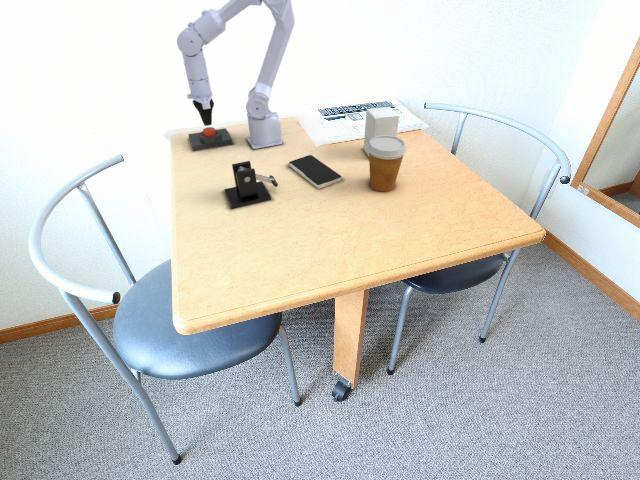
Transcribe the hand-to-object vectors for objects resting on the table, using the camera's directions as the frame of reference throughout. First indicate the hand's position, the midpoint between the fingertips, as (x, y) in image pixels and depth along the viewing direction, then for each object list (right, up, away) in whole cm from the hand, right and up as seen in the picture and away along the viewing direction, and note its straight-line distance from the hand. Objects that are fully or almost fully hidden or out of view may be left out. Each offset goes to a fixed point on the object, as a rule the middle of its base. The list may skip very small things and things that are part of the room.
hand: (207, 124), depth 111 cm
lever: (+18, -20, -20) cm, 34 cm away
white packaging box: (+52, -9, -1) cm, 52 cm away
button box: (-1, -4, +6) cm, 7 cm away
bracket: (+16, -24, -18) cm, 34 cm away
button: (0, -2, +2) cm, 3 cm away
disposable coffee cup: (+50, -21, -14) cm, 56 cm away
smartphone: (+32, -16, -9) cm, 38 cm away
